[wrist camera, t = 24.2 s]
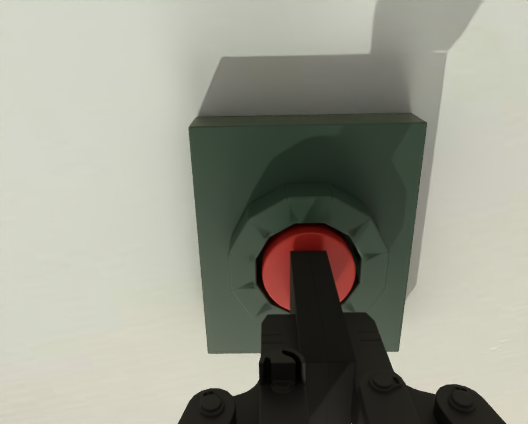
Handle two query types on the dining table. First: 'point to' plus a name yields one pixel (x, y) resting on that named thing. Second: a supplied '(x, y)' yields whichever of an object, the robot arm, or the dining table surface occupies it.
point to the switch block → (303, 210)
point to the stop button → (305, 240)
